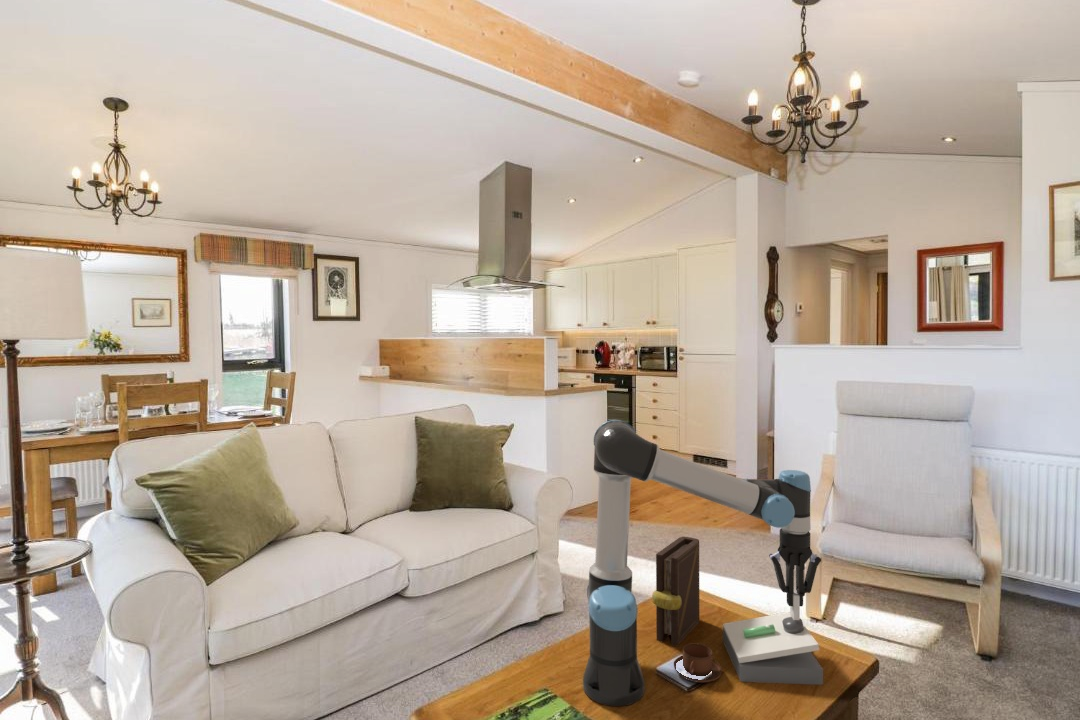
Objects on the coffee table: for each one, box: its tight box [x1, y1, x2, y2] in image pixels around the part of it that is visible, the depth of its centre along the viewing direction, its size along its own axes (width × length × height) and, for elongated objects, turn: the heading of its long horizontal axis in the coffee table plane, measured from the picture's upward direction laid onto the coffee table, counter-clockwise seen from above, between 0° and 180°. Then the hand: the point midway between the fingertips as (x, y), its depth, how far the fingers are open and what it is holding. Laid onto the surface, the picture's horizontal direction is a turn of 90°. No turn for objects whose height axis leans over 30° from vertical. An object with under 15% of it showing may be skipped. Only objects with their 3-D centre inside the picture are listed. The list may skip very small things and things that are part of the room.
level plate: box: [722, 611, 820, 663], centre depth 156 cm, size 20×18×4 cm
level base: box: [722, 627, 824, 686], centre depth 156 cm, size 20×20×4 cm
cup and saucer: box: [673, 642, 723, 684], centre depth 151 cm, size 12×12×6 cm
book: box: [651, 536, 700, 647], centre depth 173 cm, size 22×8×25 cm, turn 144°
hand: (794, 617), depth 155 cm, fingers closed
